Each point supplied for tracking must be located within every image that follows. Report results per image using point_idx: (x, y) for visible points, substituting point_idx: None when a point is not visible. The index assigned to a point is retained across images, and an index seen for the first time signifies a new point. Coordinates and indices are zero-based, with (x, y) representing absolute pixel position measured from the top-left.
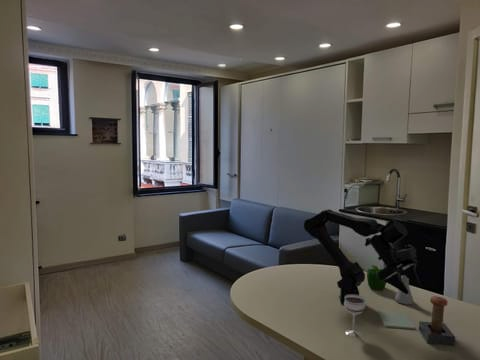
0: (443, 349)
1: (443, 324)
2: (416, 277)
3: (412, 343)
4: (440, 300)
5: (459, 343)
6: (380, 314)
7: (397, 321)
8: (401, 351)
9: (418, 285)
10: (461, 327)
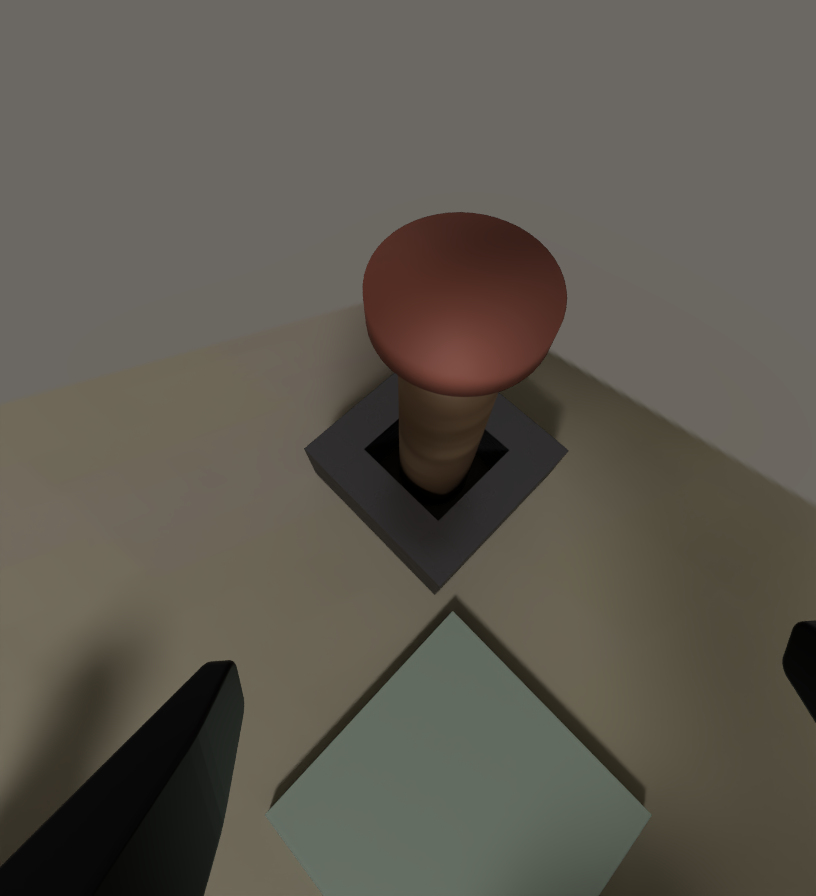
0: (524, 391)
1: (329, 445)
2: (123, 850)
3: (639, 531)
4: (468, 269)
5: (382, 365)
6: None
7: (488, 775)
8: (784, 528)
9: (237, 706)
10: (163, 427)
